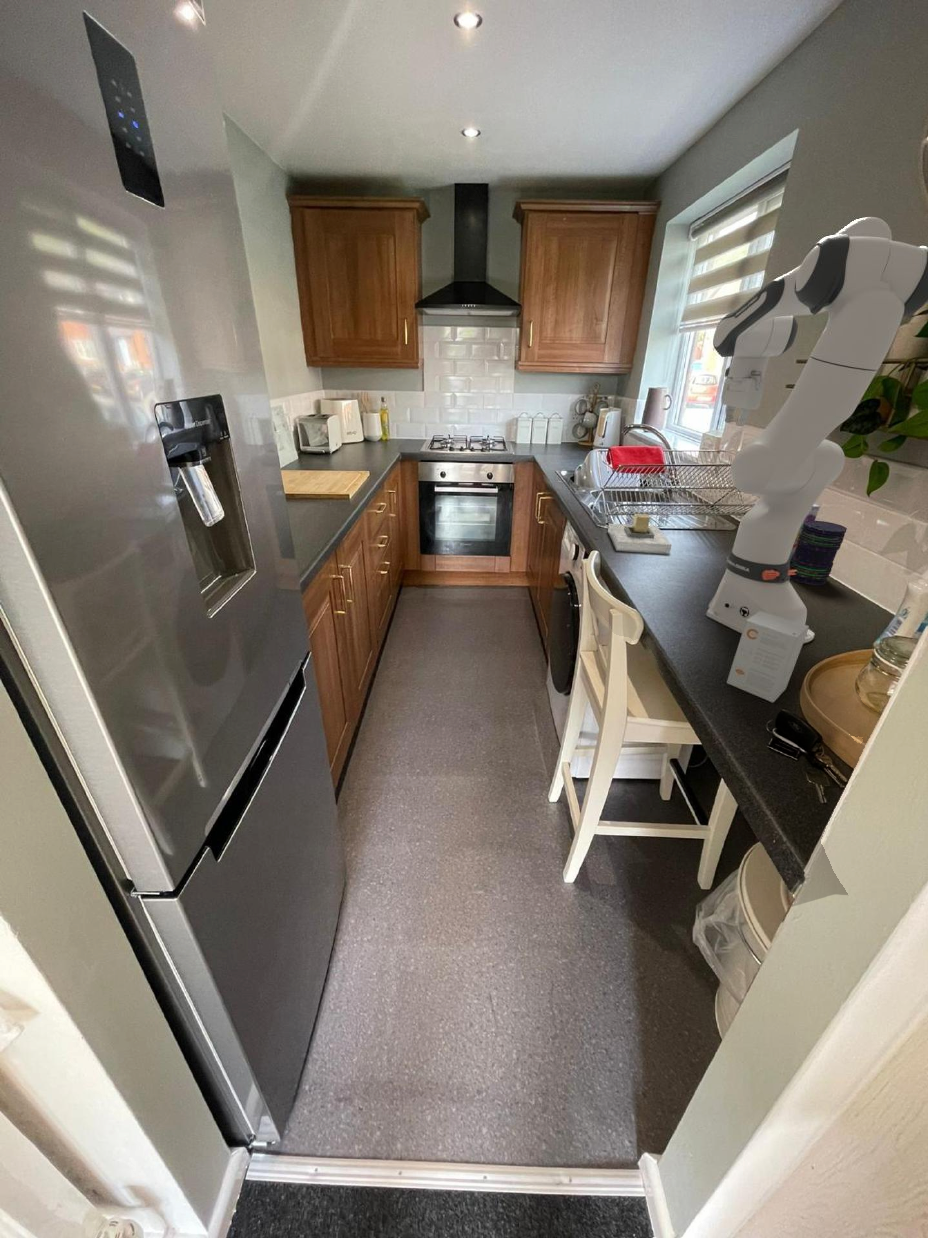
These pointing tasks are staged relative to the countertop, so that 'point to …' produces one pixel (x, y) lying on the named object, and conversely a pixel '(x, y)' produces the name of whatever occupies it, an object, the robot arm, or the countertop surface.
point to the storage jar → (816, 551)
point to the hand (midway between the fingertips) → (733, 424)
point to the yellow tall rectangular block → (640, 523)
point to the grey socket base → (638, 539)
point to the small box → (766, 655)
